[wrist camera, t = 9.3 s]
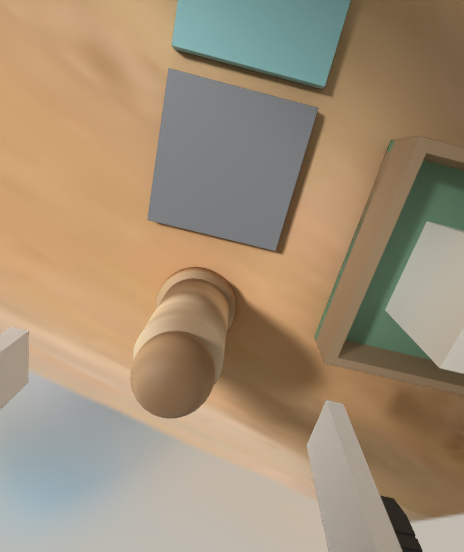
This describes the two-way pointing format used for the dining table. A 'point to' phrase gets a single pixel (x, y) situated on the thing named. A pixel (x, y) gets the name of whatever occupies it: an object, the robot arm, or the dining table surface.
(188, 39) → the tile
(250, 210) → the tile
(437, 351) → the die
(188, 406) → the pawn
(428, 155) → the felt tray
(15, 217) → the dining table surface
